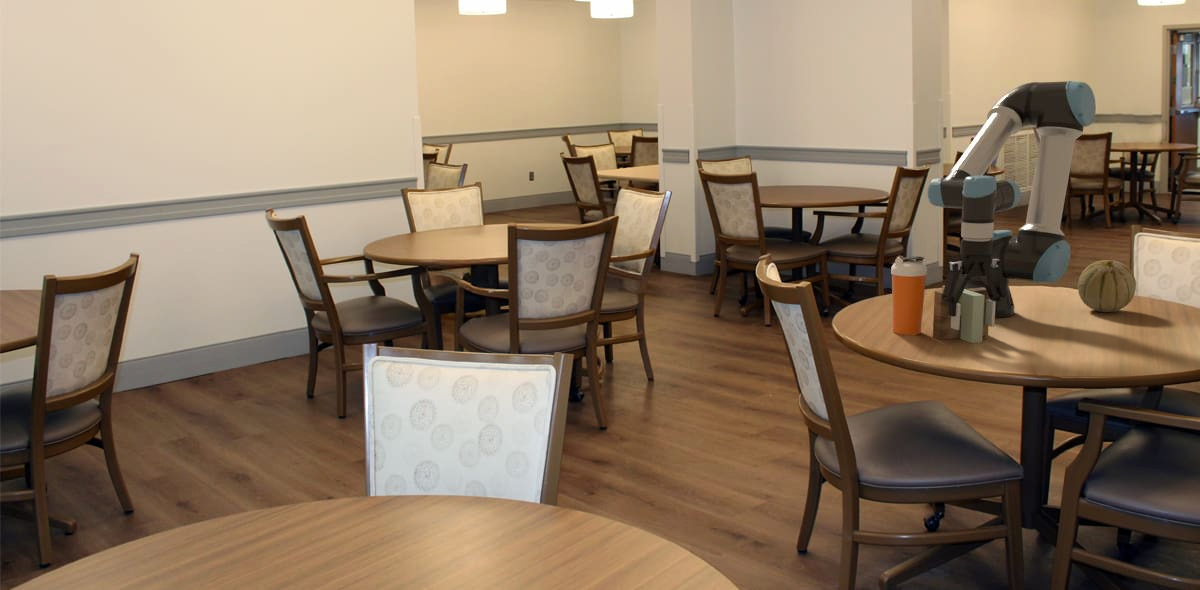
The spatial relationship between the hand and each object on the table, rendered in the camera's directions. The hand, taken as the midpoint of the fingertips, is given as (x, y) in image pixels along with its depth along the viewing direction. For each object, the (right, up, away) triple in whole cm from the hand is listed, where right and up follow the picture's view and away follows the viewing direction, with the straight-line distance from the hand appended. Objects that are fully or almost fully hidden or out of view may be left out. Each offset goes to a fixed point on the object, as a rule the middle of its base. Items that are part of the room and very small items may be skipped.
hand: (972, 327), depth 254 cm
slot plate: (-1, -2, +5) cm, 6 cm away
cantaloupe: (+48, +3, +29) cm, 56 cm away
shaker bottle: (-13, -2, +11) cm, 17 cm away
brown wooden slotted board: (-1, -2, +6) cm, 6 cm away
